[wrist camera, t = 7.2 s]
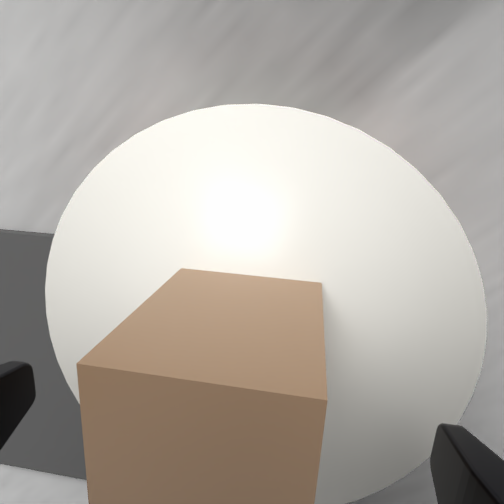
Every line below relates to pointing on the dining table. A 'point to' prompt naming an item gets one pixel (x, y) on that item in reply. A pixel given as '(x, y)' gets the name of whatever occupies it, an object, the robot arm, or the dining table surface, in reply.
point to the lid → (261, 312)
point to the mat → (36, 362)
